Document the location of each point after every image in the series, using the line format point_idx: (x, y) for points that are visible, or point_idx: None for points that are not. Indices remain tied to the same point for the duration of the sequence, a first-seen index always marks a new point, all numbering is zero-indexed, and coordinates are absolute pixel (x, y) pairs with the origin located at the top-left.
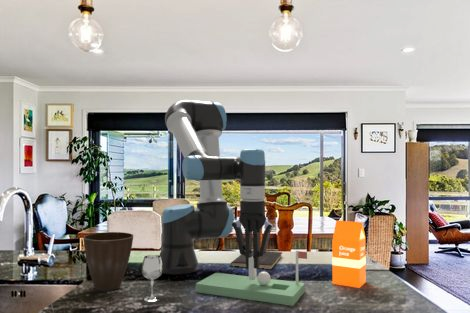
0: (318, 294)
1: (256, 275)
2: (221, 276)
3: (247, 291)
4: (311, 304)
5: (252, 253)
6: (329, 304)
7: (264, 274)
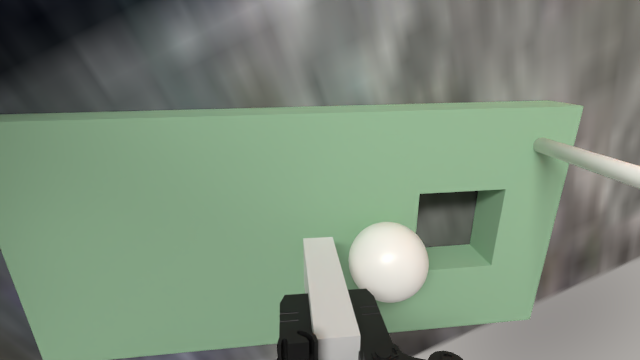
0: (607, 118)
1: (334, 245)
2: (64, 194)
3: None
4: (569, 253)
5: (314, 342)
6: (635, 224)
7: (407, 297)
